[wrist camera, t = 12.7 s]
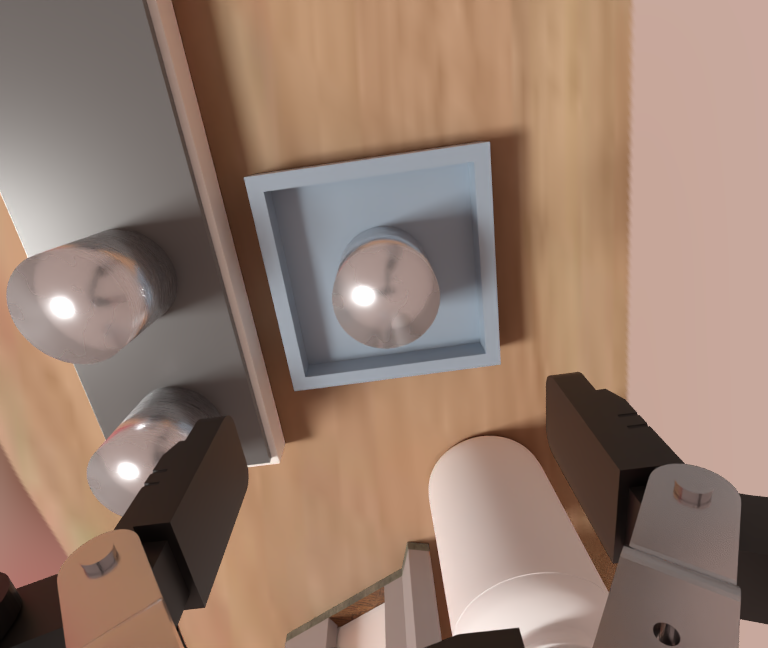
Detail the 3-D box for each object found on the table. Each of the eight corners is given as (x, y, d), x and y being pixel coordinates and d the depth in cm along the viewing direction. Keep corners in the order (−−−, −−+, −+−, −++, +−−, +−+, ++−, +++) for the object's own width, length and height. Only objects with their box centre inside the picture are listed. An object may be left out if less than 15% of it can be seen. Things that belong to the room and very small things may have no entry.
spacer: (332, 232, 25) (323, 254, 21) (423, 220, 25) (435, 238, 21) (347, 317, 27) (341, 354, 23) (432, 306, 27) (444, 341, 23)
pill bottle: (558, 496, 33) (691, 753, 19) (456, 538, 35) (513, 809, 21) (515, 412, 31) (634, 641, 17) (407, 462, 32) (432, 712, 18)
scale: (-79, -76, 21) (-210, -137, 16) (142, -112, 20) (74, -186, 16) (138, 462, 31) (98, 518, 27) (285, 443, 31) (269, 497, 26)
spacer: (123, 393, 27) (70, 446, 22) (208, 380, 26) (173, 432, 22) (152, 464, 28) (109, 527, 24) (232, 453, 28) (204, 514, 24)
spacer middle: (62, 236, 23) (-15, 260, 19) (160, 222, 23) (106, 243, 19) (98, 328, 25) (36, 371, 21) (189, 315, 25) (147, 356, 20)
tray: (254, 174, 25) (243, 177, 23) (480, 141, 24) (489, 141, 22) (299, 373, 29) (294, 391, 27) (491, 348, 29) (500, 364, 27)
